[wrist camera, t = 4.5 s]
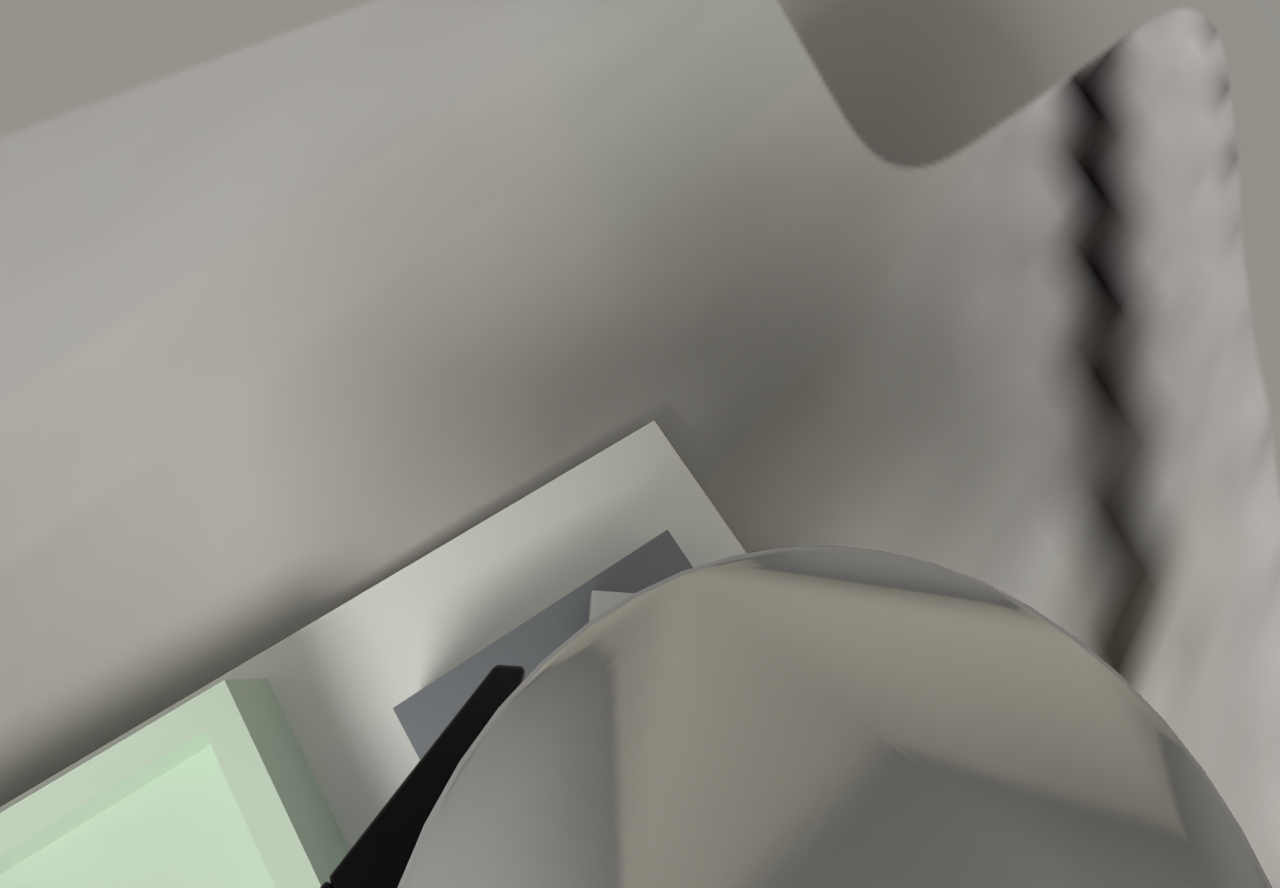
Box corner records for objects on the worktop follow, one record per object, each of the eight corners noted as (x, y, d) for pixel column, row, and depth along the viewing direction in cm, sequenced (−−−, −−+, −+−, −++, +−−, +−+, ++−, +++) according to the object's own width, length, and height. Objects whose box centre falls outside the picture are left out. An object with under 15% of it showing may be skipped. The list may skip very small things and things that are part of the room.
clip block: (569, 977, 15) (571, 1079, 11) (420, 701, 16) (379, 711, 12) (805, 780, 16) (872, 812, 13) (652, 549, 18) (674, 520, 14)
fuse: (603, 866, 15) (837, 2452, 2) (506, 711, 16) (150, 940, 2) (738, 749, 16) (1534, 1138, 3) (641, 611, 17) (887, 400, 4)
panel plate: (25, 1601, 11) (-4, 1652, 10) (-177, 919, 14) (-209, 930, 13) (911, 803, 17) (924, 807, 16) (651, 427, 19) (654, 420, 19)
